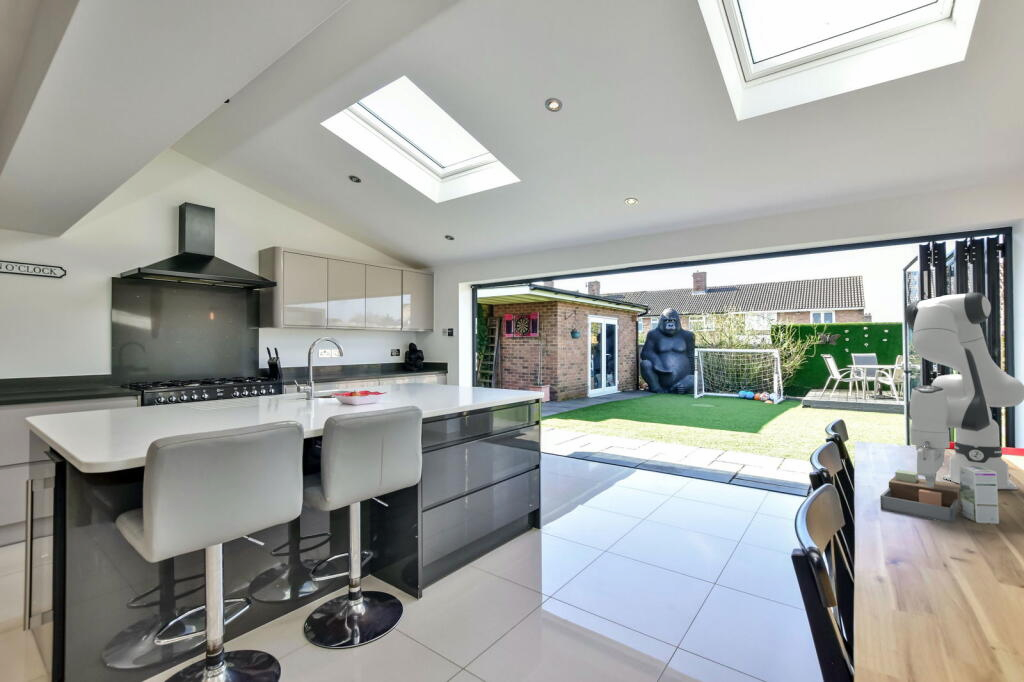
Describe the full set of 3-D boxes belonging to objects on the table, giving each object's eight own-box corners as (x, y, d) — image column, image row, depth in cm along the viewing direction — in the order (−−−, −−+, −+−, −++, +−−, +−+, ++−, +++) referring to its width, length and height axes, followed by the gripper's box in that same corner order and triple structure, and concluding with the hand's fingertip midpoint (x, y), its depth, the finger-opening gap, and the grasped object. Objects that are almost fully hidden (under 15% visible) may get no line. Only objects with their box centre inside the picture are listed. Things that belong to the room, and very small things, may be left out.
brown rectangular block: (896, 492, 157) (896, 475, 157) (962, 504, 145) (961, 484, 146) (889, 500, 149) (888, 481, 150) (958, 513, 137) (957, 492, 138)
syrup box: (1000, 524, 129) (998, 471, 129) (975, 523, 130) (973, 470, 130) (984, 517, 134) (982, 466, 134) (960, 515, 135) (958, 465, 136)
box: (889, 500, 149) (888, 488, 150) (958, 513, 137) (957, 499, 138) (880, 509, 141) (880, 496, 142) (953, 523, 129) (952, 508, 130)
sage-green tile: (898, 476, 155) (898, 469, 155) (918, 479, 151) (918, 472, 151) (895, 479, 152) (895, 472, 152) (915, 482, 148) (915, 475, 148)
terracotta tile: (919, 489, 143) (918, 490, 141) (941, 492, 139) (941, 494, 138) (920, 505, 143) (919, 507, 141) (942, 509, 139) (941, 511, 138)
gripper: (938, 446, 132) (940, 495, 131) (948, 437, 145) (949, 482, 145) (909, 443, 137) (910, 490, 136) (921, 434, 150) (922, 478, 150)
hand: (930, 486), depth 141 cm, fingers closed
